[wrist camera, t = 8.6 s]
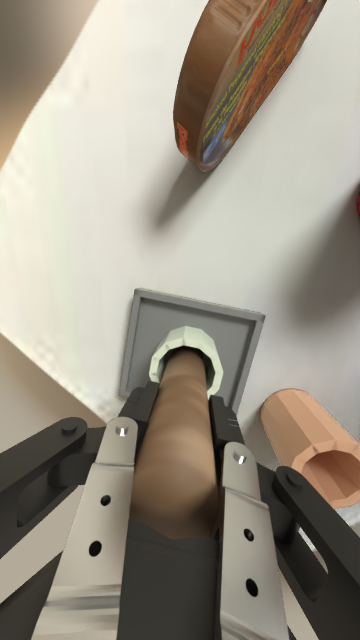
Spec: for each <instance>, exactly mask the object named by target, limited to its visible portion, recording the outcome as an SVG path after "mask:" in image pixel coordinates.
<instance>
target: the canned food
mask: <svg viewBox="0 0 360 640" xmlns="http://www.w3.org/2000/svg"><path fill="white" fill-rule="evenodd" d="M358 213H359V216H360V193H359V197H358Z"/></svg>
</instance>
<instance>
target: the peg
mask: <svg viewBox="0 0 360 640" xmlns="http://www.w3.org/2000/svg"><path fill="white" fill-rule="evenodd" d="M218 501H219V496H218V486H217V477H216V468H215V459H214V450H213V440H212V431H211V422H210V413H209V404H208V395H207V385H206V376H205V367H204V358H203V353H202V351H201V349H199V348H195V347H190V346H185V345H183V346H179V347H176V348H173V349H172V351H171V354H170V357H169V360H168V363H167V366H166V369H165V372H164V375H163V378H162V381H161V384H160V387H159V391H158V395H157V398H156V401H155V404H154V407H153V410H152V413H151V416H150V419H149V422H148V426H147V429H146V432H145V435H144V437H143V439H142V442H141V445H140V448H139V451H138V454H137V457H136V460H135V464H134V474H133V483H132V492H131V501H130V510H129V519H131V520H135V521H139V522H143V523H144V524H146V525H148V526H149V527H151V528H153V529H154V530H156V531H158V532H159V533H161V534H163V535H164V536H166V537H168V538H170V539H183V538H194V537H205V538H206V537H207V536H208V534H209V533H210V530H211V527H212V524H213V521H214V517H215V514H216V511H217V506H218Z"/></svg>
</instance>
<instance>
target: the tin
mask: <svg viewBox="0 0 360 640" xmlns="http://www.w3.org/2000/svg"><path fill="white" fill-rule="evenodd" d="M326 1H327V0H209V1H208V3H207V5H206V7H205V9H204V11H203V13H202V15H201V17H200V19H199V21H198V24H197V26H196V28H195V30H194V33H193V35H192V38H191V41H190V43H189V46H188V49H187V52H186V55H185V58H184V61H183V65H182V68H181V72H180V76H179V80H178V85H177V90H176V95H175V102H174V110H173V121H174V129H175V139H176V144H177V147H178V149H179V151H180V152H181V153H182V154H183V155H184V156H185V157H187V158H188V159H189V160H190V161H192V162H193V163H194V164H196V165H197V166H198V168H199V170H200V171H202V172H208V171H210V170H211V169H213V168H214V167H216V166H217V165H218V164H219V163H220V162H221V160H222V159H223V158H224V157H225V155H226V154H227V153H228V152H229V150H230V149H231V147H232V146H233V145H234V143H235V142H236V140H237V139H238V137H239V136H240V135H241V133H242V132H243V130H244V129H245V127H246V126H247V124H248V123H249V122H250V120H251V119H252V117H253V116H254V114H255V113H256V112H257V110H258V109H259V107H260V106H261V104H262V103H263V102H264V100H265V99H266V97H267V96H268V94H269V93H270V92H271V90H272V89H273V87H274V86H275V84H276V83H277V82H278V80H279V79H280V77H281V76H282V74H283V73H284V72H285V70H286V69H287V67H288V66H289V64H290V63H291V61H292V60H293V58H294V57H295V55H296V54H297V52H298V51H299V49H300V47H301V46H302V44H303V42H304V41H305V39H306V37H307V36H308V34H309V32H310V30H311V29H312V27H313V25H314V23H315V22H316V20H317V18H318V16H319V14H320V13H321V11H322V9H323V7H324V5H325V3H326Z"/></svg>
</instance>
